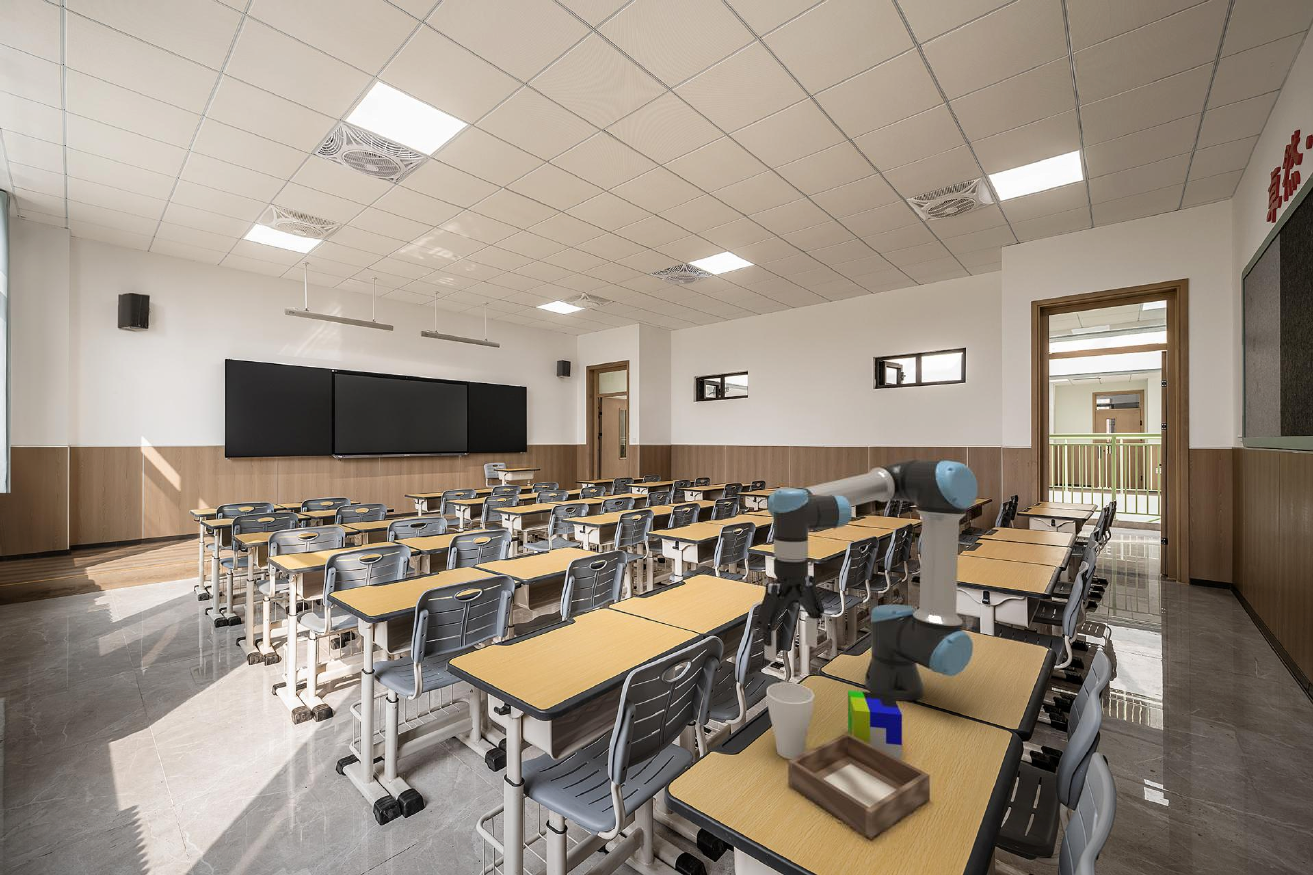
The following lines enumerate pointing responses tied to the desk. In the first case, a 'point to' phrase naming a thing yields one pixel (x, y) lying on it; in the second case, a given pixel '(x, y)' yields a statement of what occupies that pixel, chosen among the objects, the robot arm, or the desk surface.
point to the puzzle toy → (876, 721)
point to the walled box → (859, 784)
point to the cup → (790, 716)
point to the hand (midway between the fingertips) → (791, 652)
